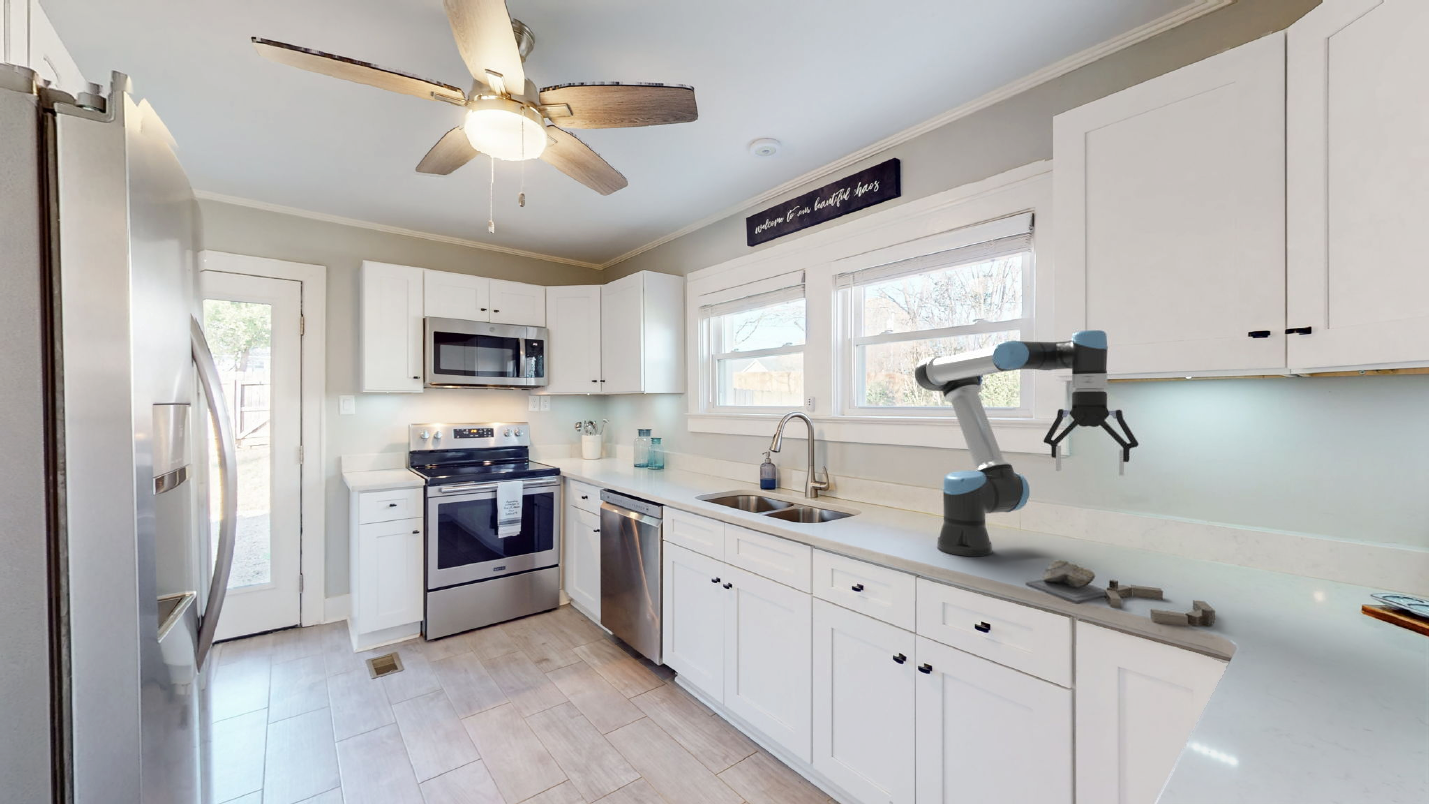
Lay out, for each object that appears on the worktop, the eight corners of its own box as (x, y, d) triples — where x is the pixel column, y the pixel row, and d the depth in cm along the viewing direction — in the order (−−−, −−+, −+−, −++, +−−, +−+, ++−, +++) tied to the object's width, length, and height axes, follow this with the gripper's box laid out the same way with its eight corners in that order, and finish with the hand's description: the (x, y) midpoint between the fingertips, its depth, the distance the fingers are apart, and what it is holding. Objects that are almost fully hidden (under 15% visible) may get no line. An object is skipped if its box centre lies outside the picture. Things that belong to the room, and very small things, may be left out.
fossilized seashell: (1077, 571, 139) (1078, 548, 136) (1106, 600, 129) (1107, 576, 126) (1034, 579, 139) (1034, 556, 137) (1060, 608, 129) (1060, 584, 127)
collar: (1086, 598, 127) (1086, 584, 127) (1134, 588, 133) (1134, 575, 133) (1183, 632, 109) (1183, 616, 109) (1235, 620, 114) (1236, 605, 114)
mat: (1025, 584, 137) (1025, 581, 136) (1063, 578, 141) (1063, 575, 141) (1075, 603, 124) (1075, 600, 124) (1115, 595, 129) (1115, 592, 129)
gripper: (1031, 391, 148) (1031, 470, 148) (1150, 390, 132) (1149, 478, 132) (1037, 391, 154) (1037, 467, 154) (1151, 390, 138) (1150, 475, 138)
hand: (1089, 472), depth 143 cm, fingers open, 13 cm apart
